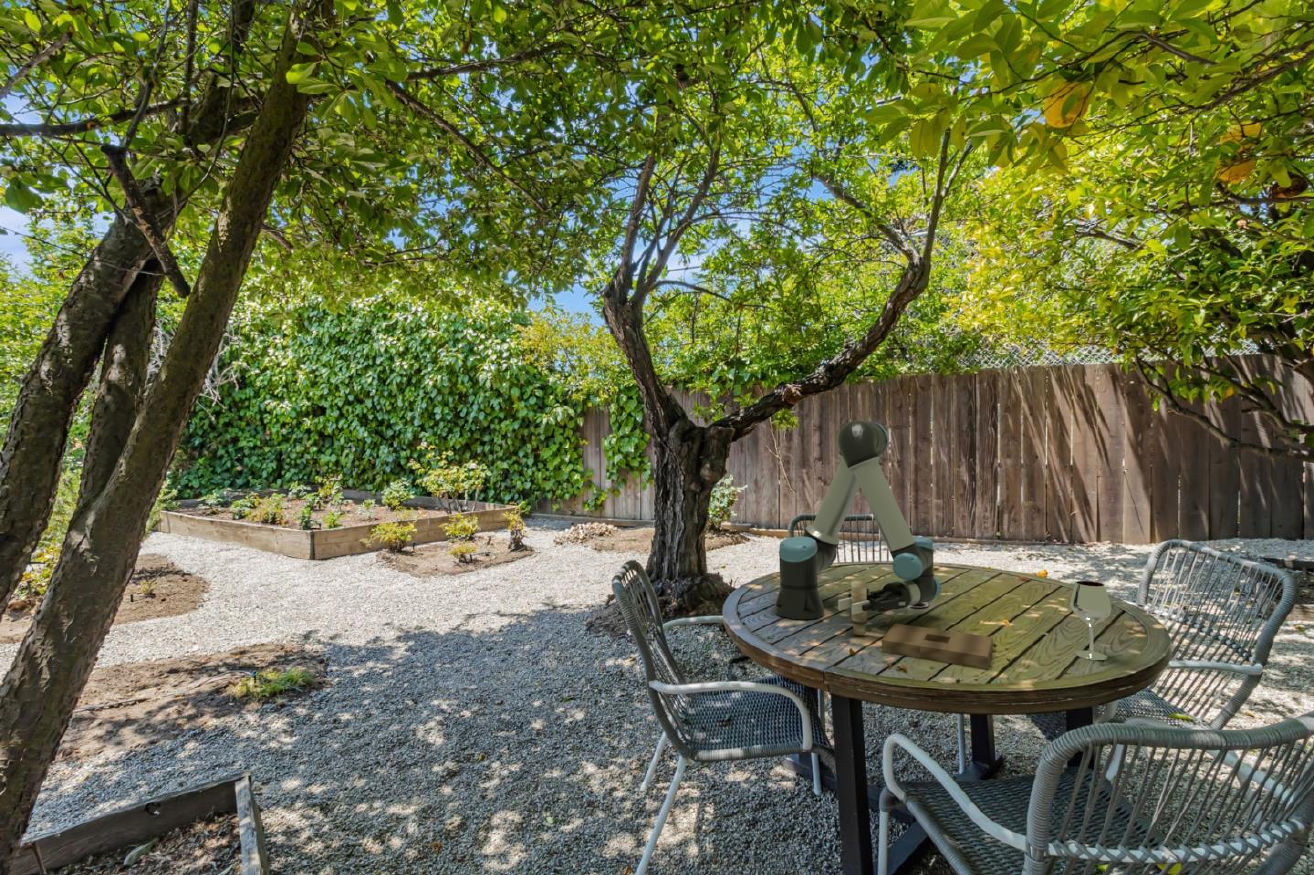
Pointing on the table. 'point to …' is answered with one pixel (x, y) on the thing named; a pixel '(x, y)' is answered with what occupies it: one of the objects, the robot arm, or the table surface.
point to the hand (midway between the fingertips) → (845, 607)
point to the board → (939, 645)
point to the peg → (857, 596)
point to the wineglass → (1090, 610)
